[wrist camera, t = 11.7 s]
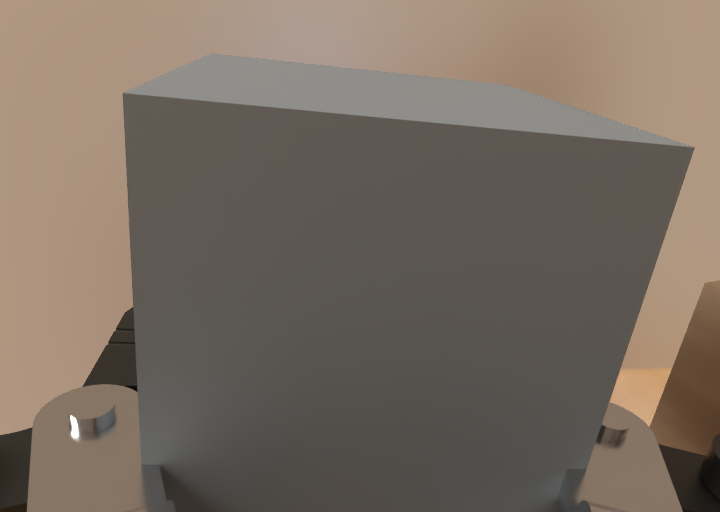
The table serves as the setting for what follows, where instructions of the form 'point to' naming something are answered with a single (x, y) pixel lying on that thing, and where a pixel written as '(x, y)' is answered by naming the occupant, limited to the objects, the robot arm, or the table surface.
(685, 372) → the walnut screen
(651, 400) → the table surface
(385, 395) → the slate block
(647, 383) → the table surface
